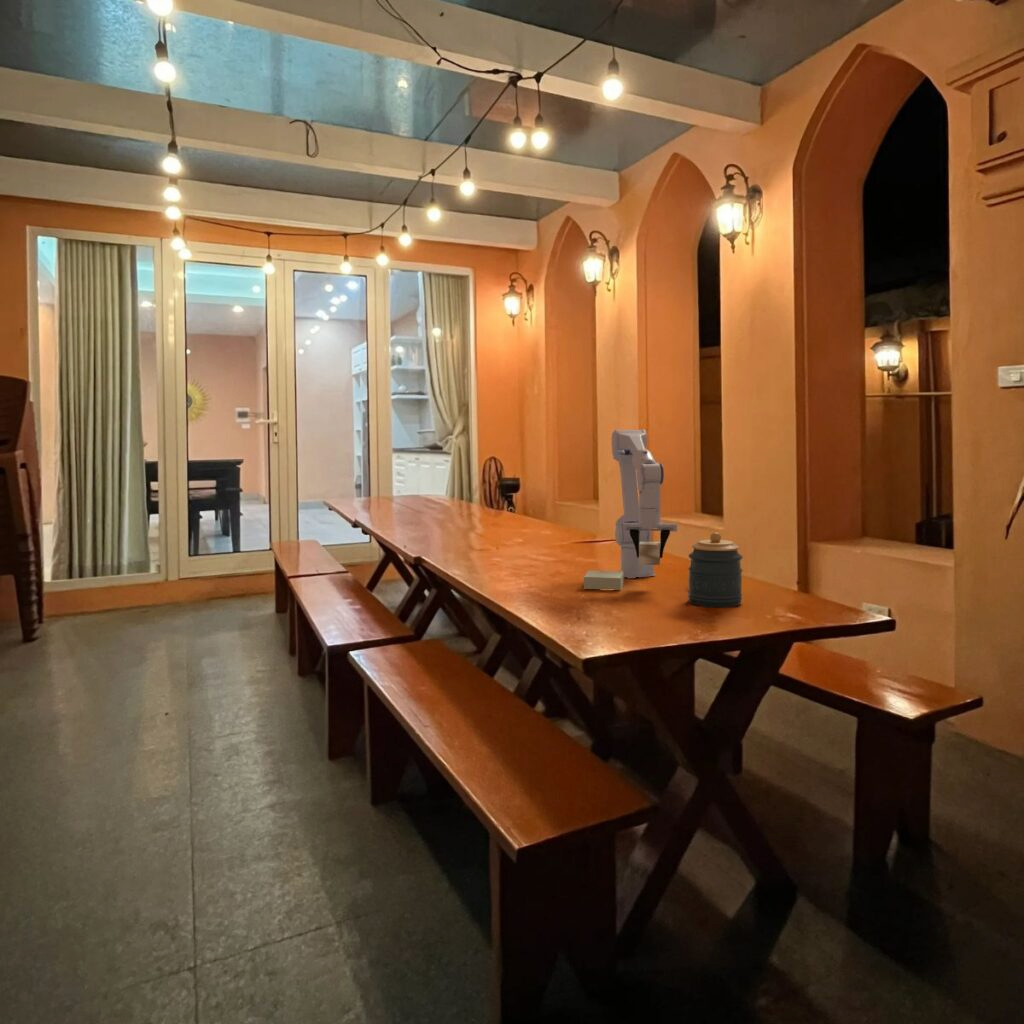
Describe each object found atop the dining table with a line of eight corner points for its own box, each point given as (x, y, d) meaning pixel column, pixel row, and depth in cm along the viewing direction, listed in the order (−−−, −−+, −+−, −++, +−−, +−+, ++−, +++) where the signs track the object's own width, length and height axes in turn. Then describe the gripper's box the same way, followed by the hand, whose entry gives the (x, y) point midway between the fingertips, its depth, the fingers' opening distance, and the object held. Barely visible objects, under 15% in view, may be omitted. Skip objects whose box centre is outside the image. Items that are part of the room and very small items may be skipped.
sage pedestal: (623, 583, 207) (623, 571, 207) (620, 590, 198) (620, 578, 197) (588, 582, 210) (588, 570, 209) (583, 589, 200) (583, 576, 200)
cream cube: (660, 561, 202) (660, 541, 202) (659, 564, 197) (659, 544, 196) (640, 561, 203) (640, 541, 203) (638, 564, 198) (639, 544, 197)
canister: (677, 599, 186) (678, 531, 184) (720, 595, 190) (721, 528, 188) (708, 610, 173) (709, 537, 172) (753, 605, 178) (754, 533, 176)
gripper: (621, 508, 196) (621, 558, 198) (677, 509, 193) (676, 560, 194) (624, 506, 203) (623, 554, 205) (677, 506, 200) (676, 555, 201)
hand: (649, 557), depth 200 cm, fingers closed on cream cube, 5 cm apart
